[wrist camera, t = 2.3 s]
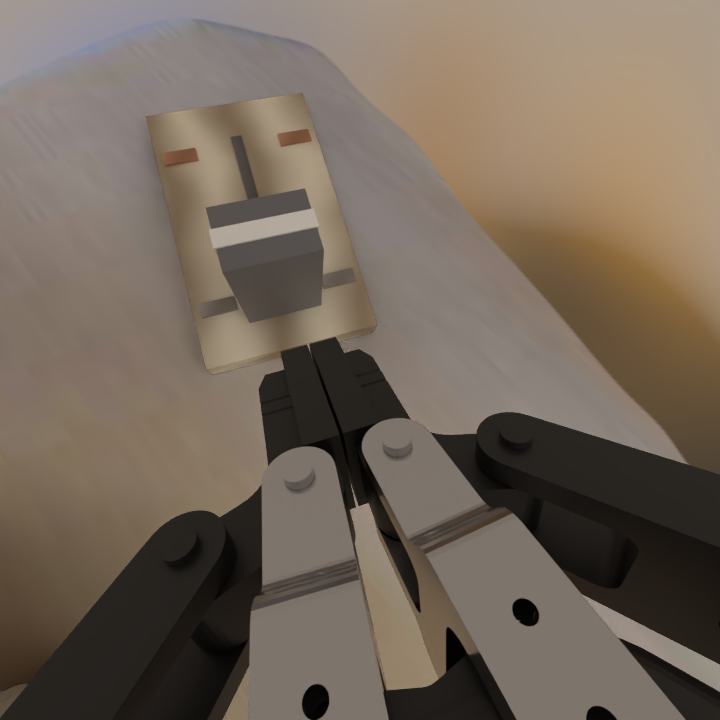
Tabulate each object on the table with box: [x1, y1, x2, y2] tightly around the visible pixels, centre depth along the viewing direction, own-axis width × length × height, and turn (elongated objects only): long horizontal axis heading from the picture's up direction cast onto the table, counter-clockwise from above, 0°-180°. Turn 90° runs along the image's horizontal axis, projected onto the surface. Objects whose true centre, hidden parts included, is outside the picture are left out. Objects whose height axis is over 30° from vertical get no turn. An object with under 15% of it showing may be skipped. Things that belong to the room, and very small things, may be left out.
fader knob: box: [206, 188, 324, 323], centre depth 23 cm, size 5×4×8 cm
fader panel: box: [146, 93, 377, 375], centre depth 29 cm, size 12×20×2 cm, turn 17°
